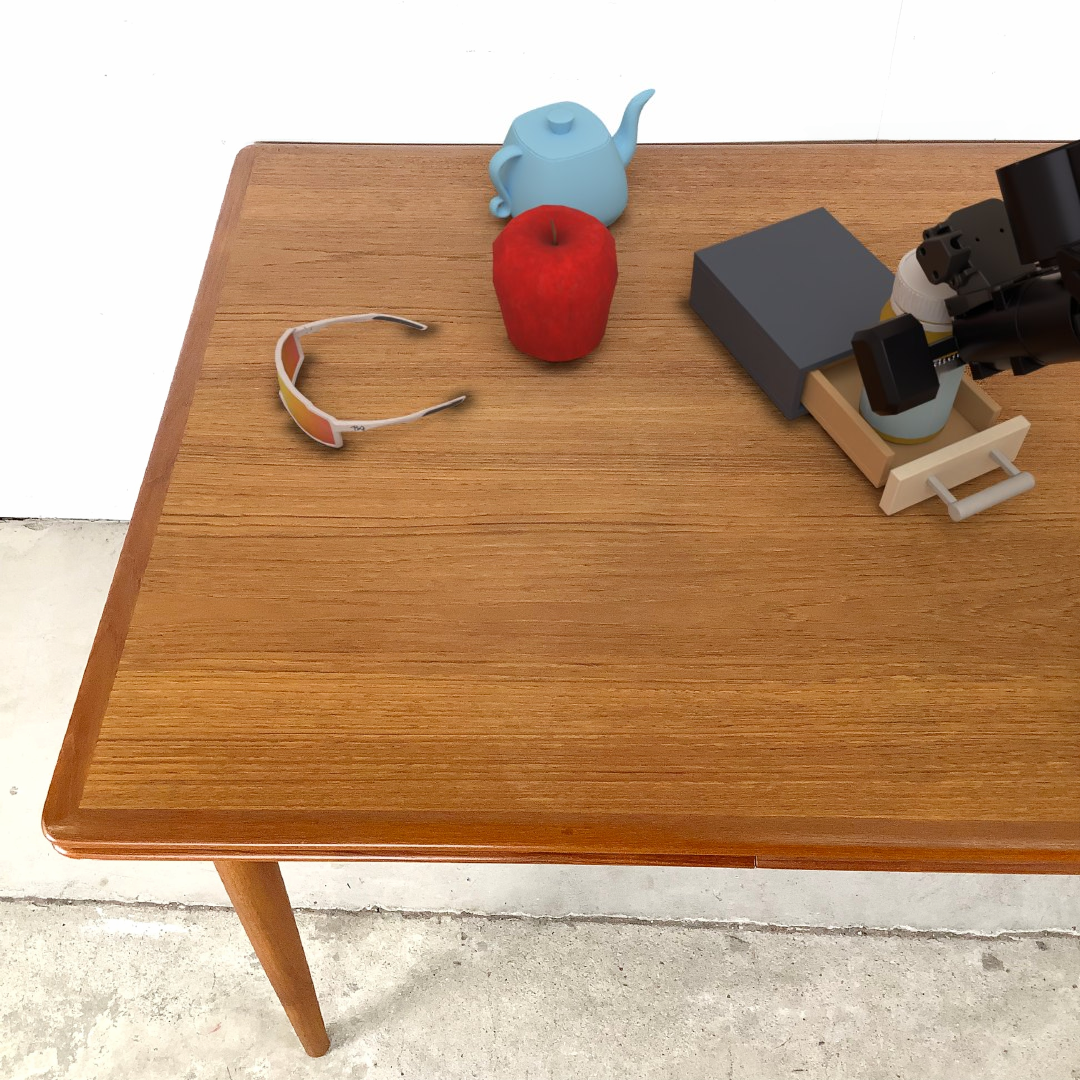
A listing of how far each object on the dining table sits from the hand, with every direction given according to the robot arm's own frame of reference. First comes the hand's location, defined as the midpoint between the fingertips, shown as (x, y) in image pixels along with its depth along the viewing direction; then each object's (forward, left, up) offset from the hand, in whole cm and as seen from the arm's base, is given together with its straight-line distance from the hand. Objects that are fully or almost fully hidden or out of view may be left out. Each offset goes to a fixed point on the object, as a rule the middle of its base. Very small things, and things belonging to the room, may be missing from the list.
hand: (908, 343), depth 87 cm
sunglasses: (+44, -8, -9) cm, 45 cm away
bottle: (-1, +1, -7) cm, 7 cm away
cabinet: (+5, -11, -9) cm, 15 cm away
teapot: (+24, -32, -9) cm, 41 cm away
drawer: (-1, +3, -8) cm, 9 cm away
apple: (+27, -12, -9) cm, 31 cm away
